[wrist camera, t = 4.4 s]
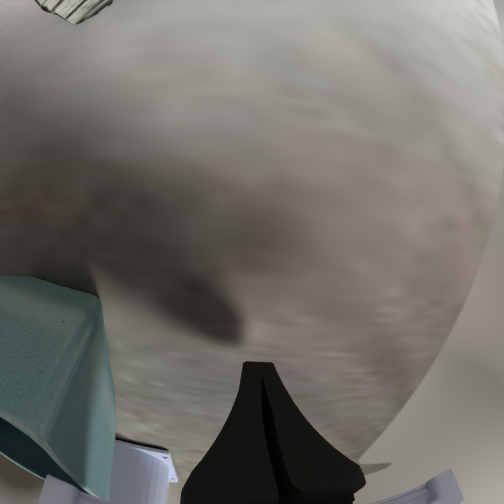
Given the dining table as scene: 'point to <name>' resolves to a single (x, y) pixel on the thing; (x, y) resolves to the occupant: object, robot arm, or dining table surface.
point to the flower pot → (56, 384)
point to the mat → (74, 8)
